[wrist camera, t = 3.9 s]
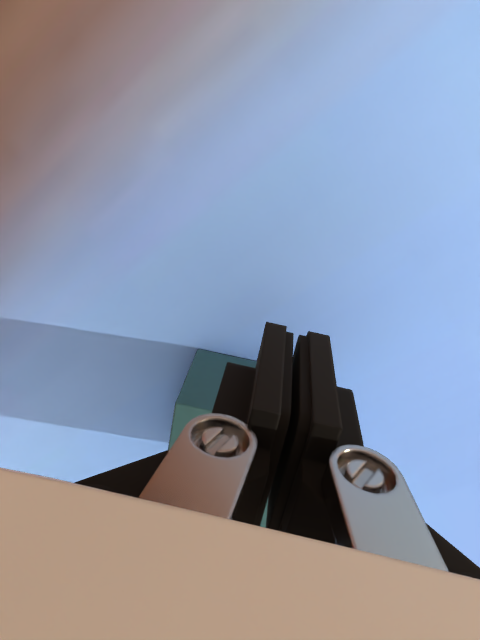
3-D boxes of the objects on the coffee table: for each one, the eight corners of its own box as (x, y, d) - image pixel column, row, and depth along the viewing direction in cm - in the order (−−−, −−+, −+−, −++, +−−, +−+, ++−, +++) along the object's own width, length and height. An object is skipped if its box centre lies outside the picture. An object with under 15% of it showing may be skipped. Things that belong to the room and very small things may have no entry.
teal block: (182, 440, 25) (158, 508, 21) (197, 347, 23) (175, 403, 18) (286, 463, 25) (285, 537, 21) (312, 373, 23) (318, 434, 18)
